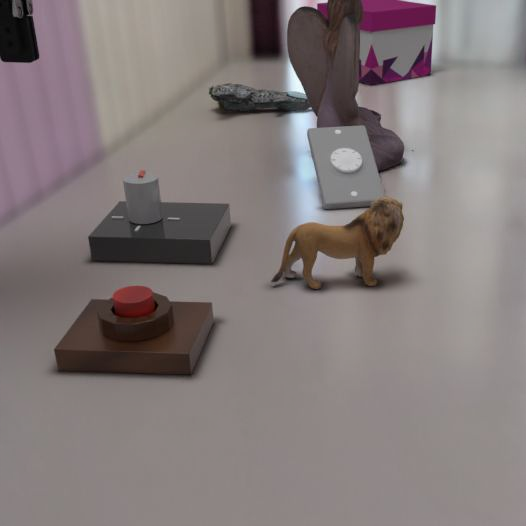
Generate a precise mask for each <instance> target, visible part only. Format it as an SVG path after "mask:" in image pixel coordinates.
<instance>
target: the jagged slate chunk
mask: <svg viewBox="0 0 526 526" xmlns="http://www.w3.org/2000/svg"><path fill="white" fill-rule="evenodd" d="M208 95H210V98H211V99H212V100H213V101H215V102H217V104H218V109H219V110H225V111H226V112H227V111H228V112H230V113H252V112H253V113H254V112H257V109H273V108H276V109H280V110H285V111H306V110H308V109H310V108H311V106H310V104H309V102H308V99H307V97H306V94H305V92H300V91H293V90H291V91H284V92H283V91H277V90H270V89H260V88H259V89H256V88H253V87H251V86H248V85H244V84H240V83H233V82H228V83H223V84H216V85H212V86H211V87H208ZM311 109H312V108H311Z"/></svg>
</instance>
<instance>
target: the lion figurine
mask: <svg viewBox="0 0 526 526" xmlns="http://www.w3.org/2000/svg"><path fill="white" fill-rule="evenodd" d="M404 221H405V217H404V214H403V202H401V201H398V200H397V199H396V198H393V197H389V196H385V197H381V198H380V199H376V200H375V201H373V202H371V206H369V209H366V210H364V211H363V213H361V214H358V215H357V216H356V217H355V218H354V219H352V220H351V221H350V222H348V223H347V224H344V225H328V224H323V223H319V222H314V221H309V222H308V221H307V222H305V223H302V224H299V225H297V226H296V227H295V228H293V229H292V231H290V233H289V235H288V237H287V239H286V242H285V245H284V249H283V253H282V259H281V264H280V267H279V269H278V272H277V273H276V274H275V275H274V276H273V277H272V279H271V280H270V282H271V283H278V282H279V281H280V280H281V278H282V277H283V275H284V277H286V278H290V279H294V278H296V277H297V275H298V274H297V273H298V272H297V271H295V270H292V267H293V265H294V264H295V263H297V261H299V260H302V265H303V267H302V271H301V274H302V276H303V278H304V279H305V281H306V283H307V285H308V286H309V287H310V288H311V289H315V290H319V289H321V288H322V283H321V281H319V280H315V279H314V277H313V274H312V273H313V272H312V271H313V268H314V265H315V263H316V260H317V258H318V252H321V253H322V254H323V255H325V256H326V257H329V258H332V259H336V260H348V259H349V260H350V259H355V261H354V262H355V267H354V272H355V274H356V276H358V277H362V279H363V281H364V284H365V285H367V286H369V287H375V286H376V285H377V283H378V281H377V280H376V279H375V278H372V275H373V270H374V266H375V258H376V257H379V256H383V255H384V256H385V255H387V254H388V252H390V251H391V250H392V247H393V246H394V243H396V241H397V240H398V239H399V238H400V235H401V231H402V229H403V227H404ZM293 243H294V246H293ZM292 246H293V248H292ZM291 248H292V250H291Z"/></svg>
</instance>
